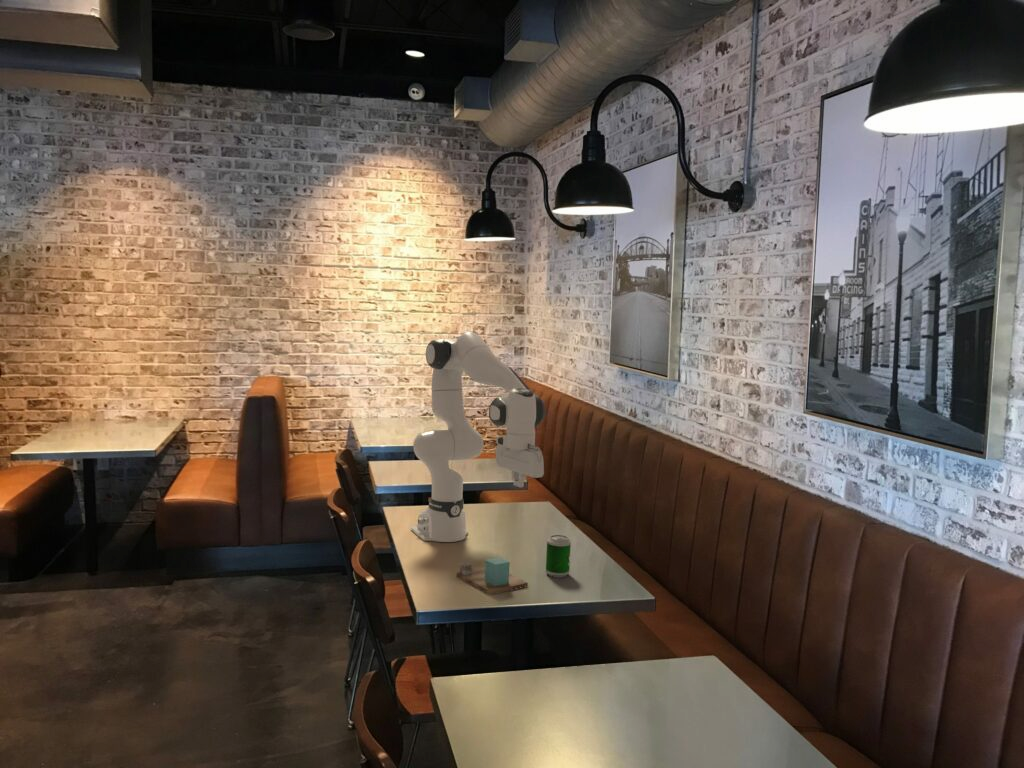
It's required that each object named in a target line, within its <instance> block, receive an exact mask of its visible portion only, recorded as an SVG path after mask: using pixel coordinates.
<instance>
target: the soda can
mask: <svg viewBox="0 0 1024 768" xmlns="http://www.w3.org/2000/svg"><path fill="white" fill-rule="evenodd" d="M571 543H572V541H571V539H570V538H569V537H568V536H567V535H563V534H553V535H550V536H549V538H547V542H546V557H545V558H546V559H545V560H546V561H545V572H546V573H547V575H548V574H549V575H548V576H550V577H552V576H553V577H552V578H565V577H566V576H567V575H568V574H569V573H570V566H571V548H572V547H571V545H572V544H571Z"/></svg>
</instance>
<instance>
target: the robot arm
mask: <svg viewBox="0 0 1024 768" xmlns="http://www.w3.org/2000/svg"><path fill="white" fill-rule="evenodd" d="M425 359H426V363H427V364H428V366H429V367H430V368H432V376H431V410H432V413H433V415H434V416H435V417H436V418H437V419H439V420H441V421H444V422H445V424H446V426H447V429H445V430H444V429H443V430H441V429H438V430H437V429H435V430H434V429H433V430H428V431H423V432H419V433H418V434H417V435H416V436H415V438H414V440H413V446H412V447H413V453H414V454H415V456H416V458H417V459H418V460H420V461H421V462H422V463H423V464H424V465H425V466H426V467H427V470H428V471H429V474H430V478H431V497H428V500H427V501H428V502H429V503H428V507H427V508H426V509H424V510H423V511H421V512H420V513H419V514H418V516H417V524H415V525H413V526H411V527H410V531H412V532H413V533H414V534H415V535H416V536H417V537H418V538H419V539H421V540H422V541H426V542H428V541H429V542H438V543H452V542H455V543H456V542H458V541H459V542H460V541H463V540H464V539H466V536H467V535H468V534H469V530H468V529H467V525H466V524H467V523H466V521H467V520H466V513H465V512H466V511H464V510H463V509H464V505H465V503H464V498H463V496H464V495H463V493H464V491H463V489H464V480H463V476H462V475H461V473H459V472H458V471H457V470H454V469H452V468H450V464H449V463H450V461H465V460H466V461H467V460H472V459H475V458H477V457H480V455H481V454H482V452H483V451H484V450H483V449H484V446H485V445H484V438H483V437H482V435H481V433H480V432H479V431H478V430H476V429H475V428H474V427H473V426H472V425H471V424H470V422H469V420H468V417H466V414H465V408H464V399H463V398H464V397H463V395H464V394H463V381H462V378H463V377H462V375H463V374H464V373H465V374H466V375H467V376H468V378H469V379H471V380H472V381H473V382H475V383H479V384H483V385H484V384H485V385H490V386H496V387H499V388H502V389H504V390H506V391H507V392H508V393H507V394H505V395H502V396H498V397H495V398H494V399H493V400H491V403H490V405H489V407H488V418H489V419H490V421H491V422H492V424H493V425H494V426H496V427H500V428H506V432H505V433H506V434H504V435H501V436H497V437H496V440H495V442H496V444H497V446H496V449H495V463H496V465H497V467H500V468H503V469H506V470H509V471H511V473H510V474H511V476H512V479H513V486H515V487H519V488H524V487H525V481H526V479H527V477H531V478H542V477H543V476H544V474H545V466H544V462H545V461H544V456H543V455H544V454H543V452H542V450H541V448H540V447H539V446H536V445H535V444H536V429H535V428H537V427H538V426H540V424H541V423H542V422H543V421H544V419H545V417H546V414H547V408H546V404H545V402H544V401H543V400H542V398H541V397H540V396H539V395H537V394H535V393H534V391H532V390H531V389H530V387H529V386H528V385H527V384H526V383H525V382H524V381H523V379H522V378H521V377H520V376H519V374H518V373H517V372H515V370H513V368H512V367H510V366H509V365H507V364H506V363H504V362H503V361H502V360H500V359H499V358H498V356H497V355H495V354H494V353H493V351H492V350H491V348H490V346H489V345H488V344H487V343H486V341H485V340H484V339H483V338H482V337H481V336H480V335H479V334H478V333H476V332H472V331H468V332H464V333H462V334H461V335H459V337H457V338H446V339H445V338H444V339H443V338H437V339H433V340H431V341H429V343H428V345H427V346H426V349H425Z"/></svg>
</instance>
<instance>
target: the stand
mask: <svg viewBox="0 0 1024 768" xmlns="http://www.w3.org/2000/svg"><path fill="white" fill-rule="evenodd" d="M472 565H473V564H471V563H469V562H462V563H459V572H456V576H457V578H458V577H459V578H458V579H460V578H461V579H460V580H462V579H463V580H462V581H464V580H465V581H466V582H465V581H464V582H465V583H467V582H468V583H467V584H469V583H470V584H469V585H471V584H472V585H471V586H473V587H474V586H475V587H474V588H476V587H477V588H476V589H478V588H479V589H478V590H480V591H482V590H483V591H484V592H483V591H482V592H483V593H485V592H486V593H485V594H487V593H488V594H487V595H489V594H492V595H494V594H493V593H496V594H499V593H498V592H501V593H503V592H502V591H505V592H509V591H508V590H510V591H512V590H511V589H514V590H517V589H516V588H519V589H521V588H520V587H523V588H526V587H525V586H528V585H529V582H527V581H525V580H524V579H521V578H519V577H517V576H515V575H513V574H511V573H509V583H508V584H503V585H498V586H493V585H491V584H489V583H487V582H486V581H485V566H484V567H479V568H473V569H472Z"/></svg>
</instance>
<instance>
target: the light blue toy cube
mask: <svg viewBox="0 0 1024 768" xmlns="http://www.w3.org/2000/svg"><path fill="white" fill-rule="evenodd" d="M510 564H511V563H510V561H509V560H507V559H504V558H502V557H500V556H498V557H494V558H487V559H485V565H484V567H485V581H486V582H487V583H489V584H491V585H493V586H498V585H503V584H508V583H509V574H510Z"/></svg>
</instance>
